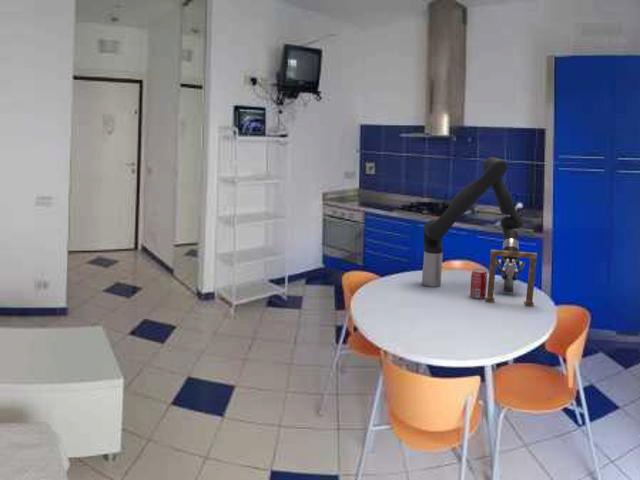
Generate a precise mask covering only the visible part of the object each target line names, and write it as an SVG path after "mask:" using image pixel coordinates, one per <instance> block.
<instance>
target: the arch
mask: <svg viewBox="0 0 640 480" xmlns="http://www.w3.org/2000/svg"><path fill="white" fill-rule="evenodd" d="M497 256H498V257H502V256H507V257H518V258H521V259H524V258H526V259H529V265H528V266H529V267H528V278H527V287H526V298H525V300H524V301H523V305H525V306H524V307H531V306H534V307H535V304H534V301H533V298H534V288H535V279H536V269H537V258H538V253H537V252H528V251H527V252H526V251H519V252H517V251H503V249H502V250H501V249H490V257H489V259H490V261H489V271H488V272H489V273H488V280H487V282H488V285H487V293H486V295H487V296H485V297H484V302H485V303H495V297H494V290H495V279H496V269H497V266H496V259H497Z"/></svg>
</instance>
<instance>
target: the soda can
mask: <svg viewBox="0 0 640 480" xmlns="http://www.w3.org/2000/svg"><path fill="white" fill-rule="evenodd" d="M487 282H488V274H487V270H485V269H481V268H475V269H472V272H471V274H470V290H469V291H470V293H469V296H470V297H472V298H473V299H477V300H482V299H485V297H487V296H486V295H487V286H488V285H487Z"/></svg>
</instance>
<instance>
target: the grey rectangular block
mask: <svg viewBox="0 0 640 480" xmlns="http://www.w3.org/2000/svg"><path fill="white" fill-rule="evenodd" d="M514 274H515V263H511V262H507V263H506V267H505V280H503V292H504V293H508V294H509V293H511V294H512V293H514V285H515V281H514Z"/></svg>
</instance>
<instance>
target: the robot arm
mask: <svg viewBox="0 0 640 480" xmlns="http://www.w3.org/2000/svg"><path fill="white" fill-rule="evenodd" d="M508 167H509V166H508V163H507V162H506V161H505V160H503V159H502V158H498V157H496V156H493V157H492V156H490V157H488V158H486V159H485V160H484V162H483V167H482V168H483V171H484V173H482V175H481V176H480V177H479V178H477V179H476V180H474V181H473V182H470V183H468V184H467V185H466V186H464V187H463V188H461V190H460V191H458V193H457V194H455V196H454V197H453V198H452V200H451V201H450V203H449V205H448V207H447V209H446V210H445V212H443V213H442V215H440V216H439V218H437V219H431V220H428V221H427V222H426V223H425V225H424V229H423V266H422V275H421V276H422V277H421V285H422V286H427V287H429V288H430V287H433V288H435V287H440V286H441V284H442V272H443V271H442V269H443V256H444V254H443V253H444V252H443V251H444V246H443V241H442V240H443V238H444V236H446V234H447V233H448V231H450V229H451V228H452V227H453V225H454V224H455V223H456V222H458V220H459V219H460V218H461V217H463V215H464V214H465V213H466V212H468V210H469V209H470V208H471V207H472V206H474V204H476V202H477V201H478V200H479V199H480V198H481V197H482V196H483V195H484V194H485V192H487V190H488V189H490V188H492V189H493V192H494V195H495V198H496V200H497V204H498V207H499V211H500V213H501V214H502V215H506V216H505V217H502V219H501V220H500V226H501V229H502V233H503V243H502V250H503V251H517V252H520V251H519V250H520V246H519V237H520V235H519V232H518V231H517V230H519V229H522V227H523V225H524V222H523V221H524V220H523V218H522V216H521V214H519V212H518V211H517V208H516V206H515V204H514V201H513V198H512V195H511V193H510V192H509V190H508V187H507V186H506V183H505V182H504V180H503V177H504V175H505V174H506V173H507V170H508ZM519 258H520V257H507V256H501V259H498V258H496V270H497V272H499V273H501V279H503V281H504V280H505V267H506V263H507V262H511V263H515V274H514V282H516V281H517V280H518V277H519V275H520V274H522V272H523V270H524V267H525V264H526V262H525V260H523V261H522V260H521V261H520V259H519ZM501 264H502V265H503V267H501ZM518 265H519V266H520V267H519V269H518ZM518 274H519V275H518Z"/></svg>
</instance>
